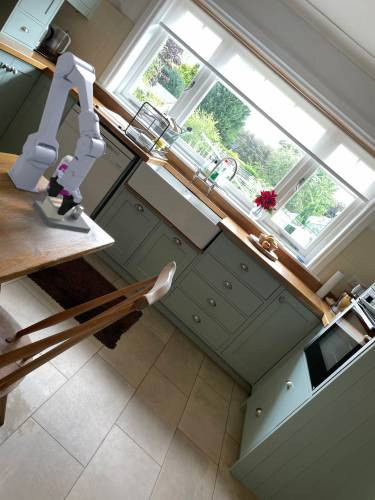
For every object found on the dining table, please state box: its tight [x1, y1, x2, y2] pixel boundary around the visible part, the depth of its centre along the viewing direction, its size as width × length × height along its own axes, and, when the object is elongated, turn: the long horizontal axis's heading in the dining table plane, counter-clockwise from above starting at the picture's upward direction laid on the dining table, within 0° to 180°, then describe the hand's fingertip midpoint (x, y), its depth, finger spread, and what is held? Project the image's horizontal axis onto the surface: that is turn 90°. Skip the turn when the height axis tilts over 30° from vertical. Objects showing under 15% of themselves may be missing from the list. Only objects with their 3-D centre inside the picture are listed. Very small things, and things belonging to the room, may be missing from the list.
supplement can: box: [45, 154, 74, 200], centre depth 133 cm, size 8×8×15 cm
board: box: [32, 200, 91, 234], centre depth 124 cm, size 11×16×2 cm
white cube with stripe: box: [42, 195, 67, 219], centre depth 120 cm, size 5×5×4 cm
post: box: [70, 203, 85, 220], centre depth 127 cm, size 3×3×4 cm
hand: (55, 207), depth 120 cm, fingers open, 7 cm apart
